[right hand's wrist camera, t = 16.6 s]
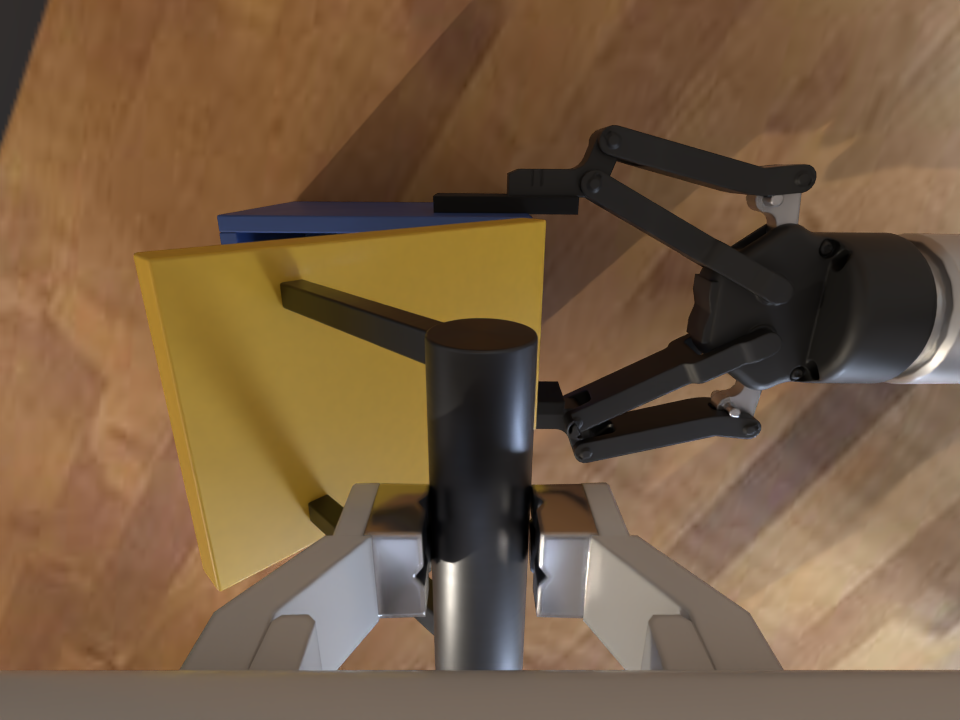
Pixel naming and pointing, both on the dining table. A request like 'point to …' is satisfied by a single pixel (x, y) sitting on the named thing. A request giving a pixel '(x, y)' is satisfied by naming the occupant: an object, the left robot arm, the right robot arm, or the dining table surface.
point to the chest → (337, 219)
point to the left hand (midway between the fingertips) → (438, 306)
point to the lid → (362, 402)
